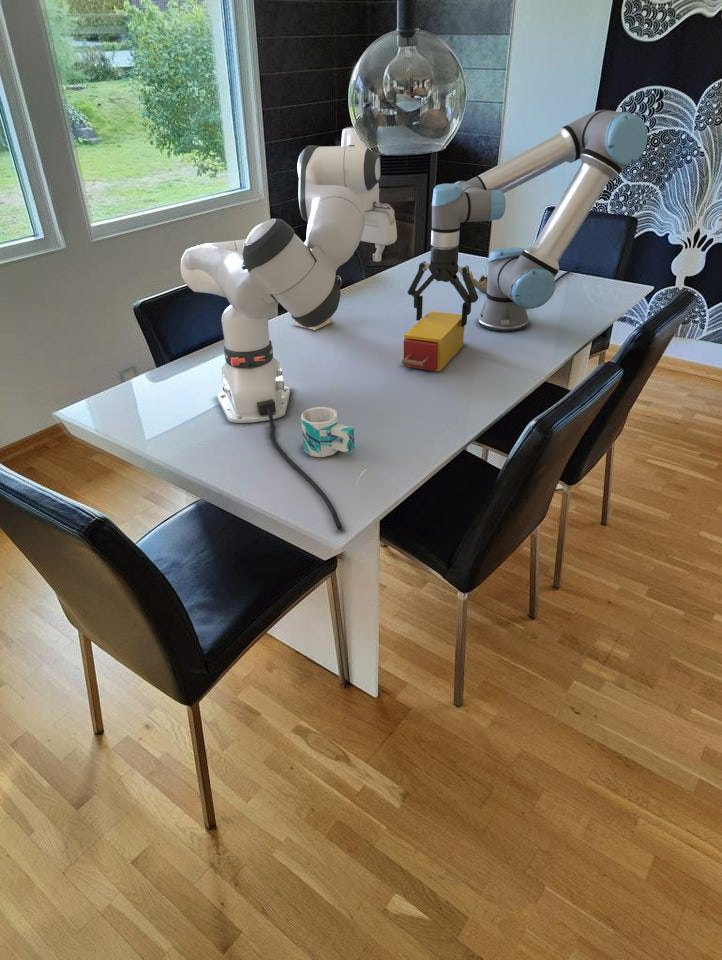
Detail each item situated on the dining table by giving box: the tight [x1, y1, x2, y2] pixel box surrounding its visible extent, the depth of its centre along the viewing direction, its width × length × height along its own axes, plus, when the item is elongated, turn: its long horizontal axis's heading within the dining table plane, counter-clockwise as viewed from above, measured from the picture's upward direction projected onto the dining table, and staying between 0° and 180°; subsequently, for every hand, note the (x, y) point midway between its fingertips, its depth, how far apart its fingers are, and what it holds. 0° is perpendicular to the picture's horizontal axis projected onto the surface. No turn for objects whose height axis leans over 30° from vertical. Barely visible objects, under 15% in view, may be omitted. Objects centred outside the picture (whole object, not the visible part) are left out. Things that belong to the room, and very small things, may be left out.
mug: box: [300, 406, 356, 458], centre depth 147 cm, size 8×12×8 cm
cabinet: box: [403, 310, 465, 372], centre depth 191 cm, size 21×11×9 cm, turn 155°
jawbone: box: [469, 269, 488, 293], centre depth 238 cm, size 9×15×10 cm
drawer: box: [401, 339, 438, 371], centre depth 187 cm, size 25×9×7 cm, turn 155°
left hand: (363, 258), depth 171 cm, fingers open, 8 cm apart
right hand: (441, 322), depth 193 cm, fingers open, 13 cm apart
